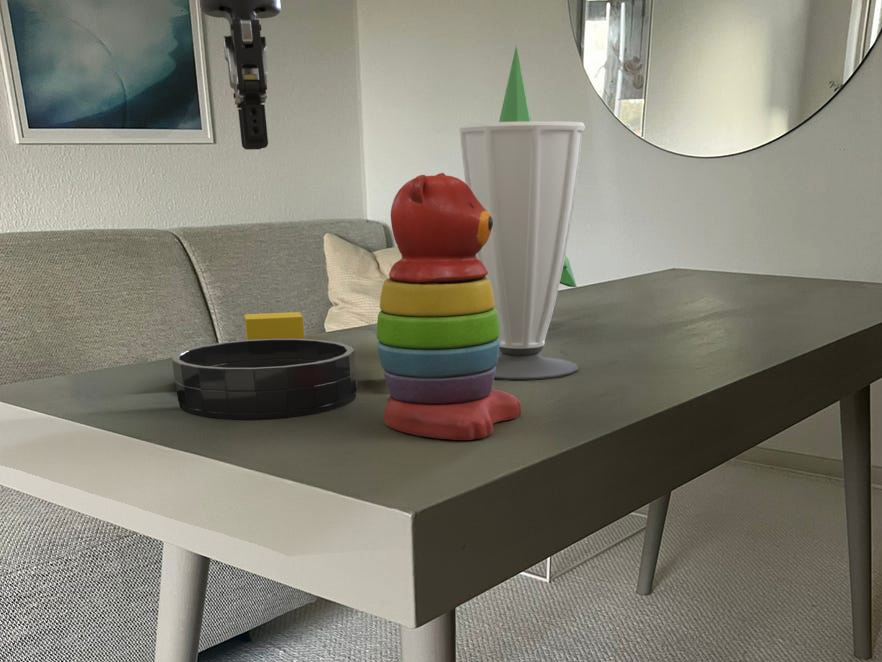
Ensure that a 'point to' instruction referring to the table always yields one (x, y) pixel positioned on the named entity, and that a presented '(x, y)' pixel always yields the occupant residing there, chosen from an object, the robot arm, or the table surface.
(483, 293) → the stacking bear
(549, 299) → the cup
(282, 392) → the bowl
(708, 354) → the table surface
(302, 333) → the sponge
